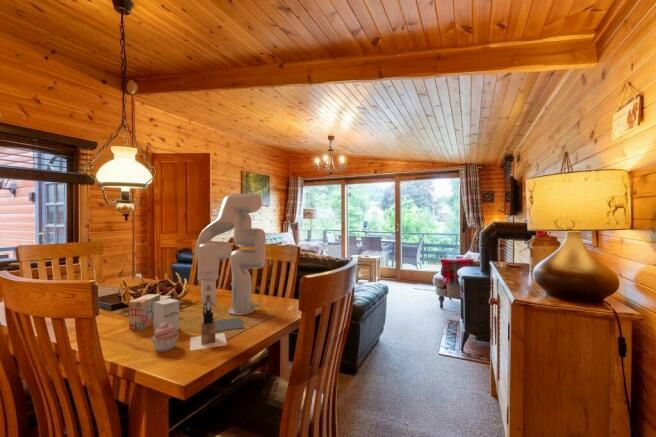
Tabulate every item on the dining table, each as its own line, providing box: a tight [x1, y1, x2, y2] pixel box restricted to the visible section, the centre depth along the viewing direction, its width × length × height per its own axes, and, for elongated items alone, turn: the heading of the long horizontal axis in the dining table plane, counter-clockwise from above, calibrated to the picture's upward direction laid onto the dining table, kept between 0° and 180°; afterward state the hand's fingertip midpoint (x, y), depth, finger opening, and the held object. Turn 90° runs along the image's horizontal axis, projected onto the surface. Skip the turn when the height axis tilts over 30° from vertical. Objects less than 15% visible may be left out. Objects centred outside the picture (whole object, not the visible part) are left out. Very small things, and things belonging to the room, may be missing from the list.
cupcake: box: [150, 322, 180, 353], centre depth 117 cm, size 9×9×10 cm
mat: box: [215, 317, 245, 333], centre depth 142 cm, size 14×14×1 cm
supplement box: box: [153, 298, 180, 332], centre depth 135 cm, size 7×7×13 cm
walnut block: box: [200, 317, 216, 344], centre depth 124 cm, size 5×5×8 cm
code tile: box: [189, 332, 228, 351], centre depth 124 cm, size 13×13×1 cm
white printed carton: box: [128, 293, 173, 331], centre depth 146 cm, size 21×6×12 cm, turn 174°
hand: (207, 319), depth 123 cm, fingers open, 9 cm apart
